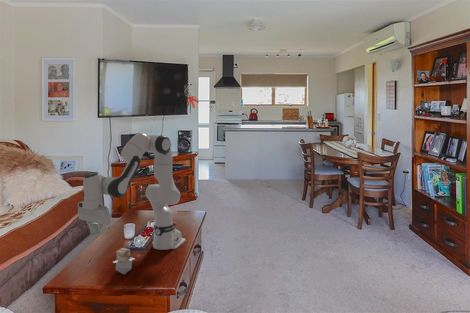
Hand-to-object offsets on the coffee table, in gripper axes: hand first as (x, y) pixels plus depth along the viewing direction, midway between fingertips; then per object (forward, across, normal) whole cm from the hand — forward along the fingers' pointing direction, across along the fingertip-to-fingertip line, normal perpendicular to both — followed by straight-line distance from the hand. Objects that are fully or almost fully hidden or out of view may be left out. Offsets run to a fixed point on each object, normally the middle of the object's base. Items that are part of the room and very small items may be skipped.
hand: (95, 229), depth 201 cm
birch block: (+17, -10, -9) cm, 22 cm away
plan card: (+25, +1, -20) cm, 32 cm away
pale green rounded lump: (+2, 0, 0) cm, 2 cm away
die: (+25, -10, -9) cm, 29 cm away
